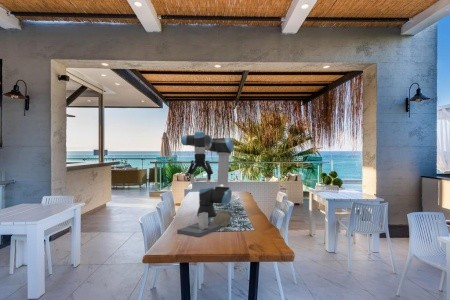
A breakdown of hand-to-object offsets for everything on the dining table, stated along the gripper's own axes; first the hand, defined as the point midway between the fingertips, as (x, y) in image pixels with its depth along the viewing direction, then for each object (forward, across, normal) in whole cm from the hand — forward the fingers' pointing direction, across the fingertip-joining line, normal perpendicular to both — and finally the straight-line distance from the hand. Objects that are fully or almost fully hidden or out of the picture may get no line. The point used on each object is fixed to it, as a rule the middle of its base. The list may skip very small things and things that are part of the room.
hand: (200, 184), depth 229 cm
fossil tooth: (+31, +9, +13) cm, 35 cm away
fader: (+28, +9, -9) cm, 31 cm away
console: (+31, +4, -7) cm, 32 cm away
